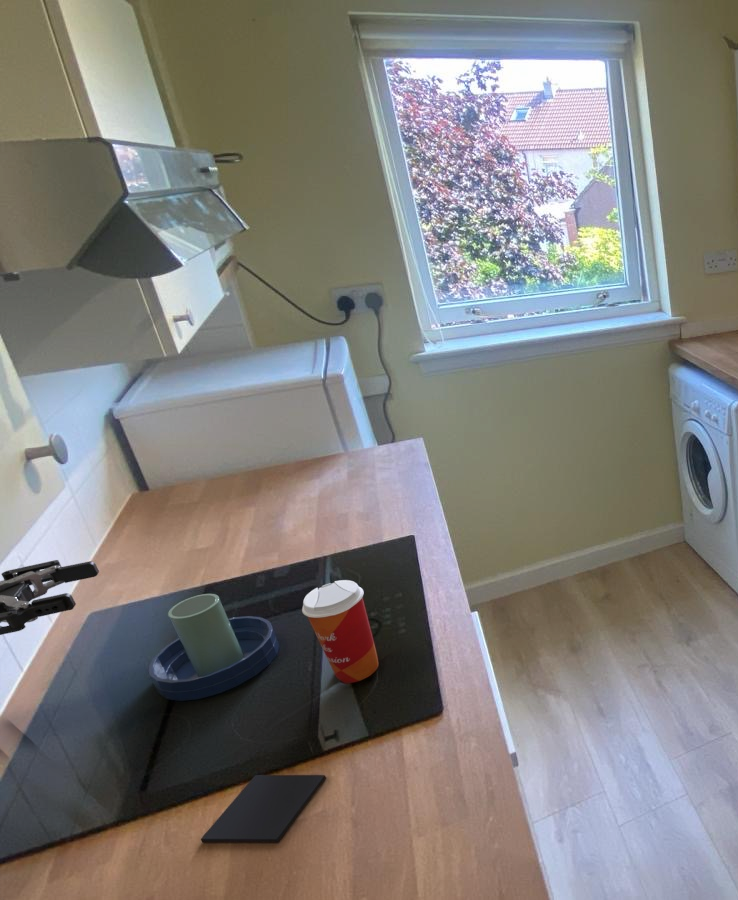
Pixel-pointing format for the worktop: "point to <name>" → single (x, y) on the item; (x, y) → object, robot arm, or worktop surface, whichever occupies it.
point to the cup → (205, 633)
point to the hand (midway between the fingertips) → (84, 583)
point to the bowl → (183, 684)
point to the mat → (264, 809)
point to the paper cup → (342, 629)
